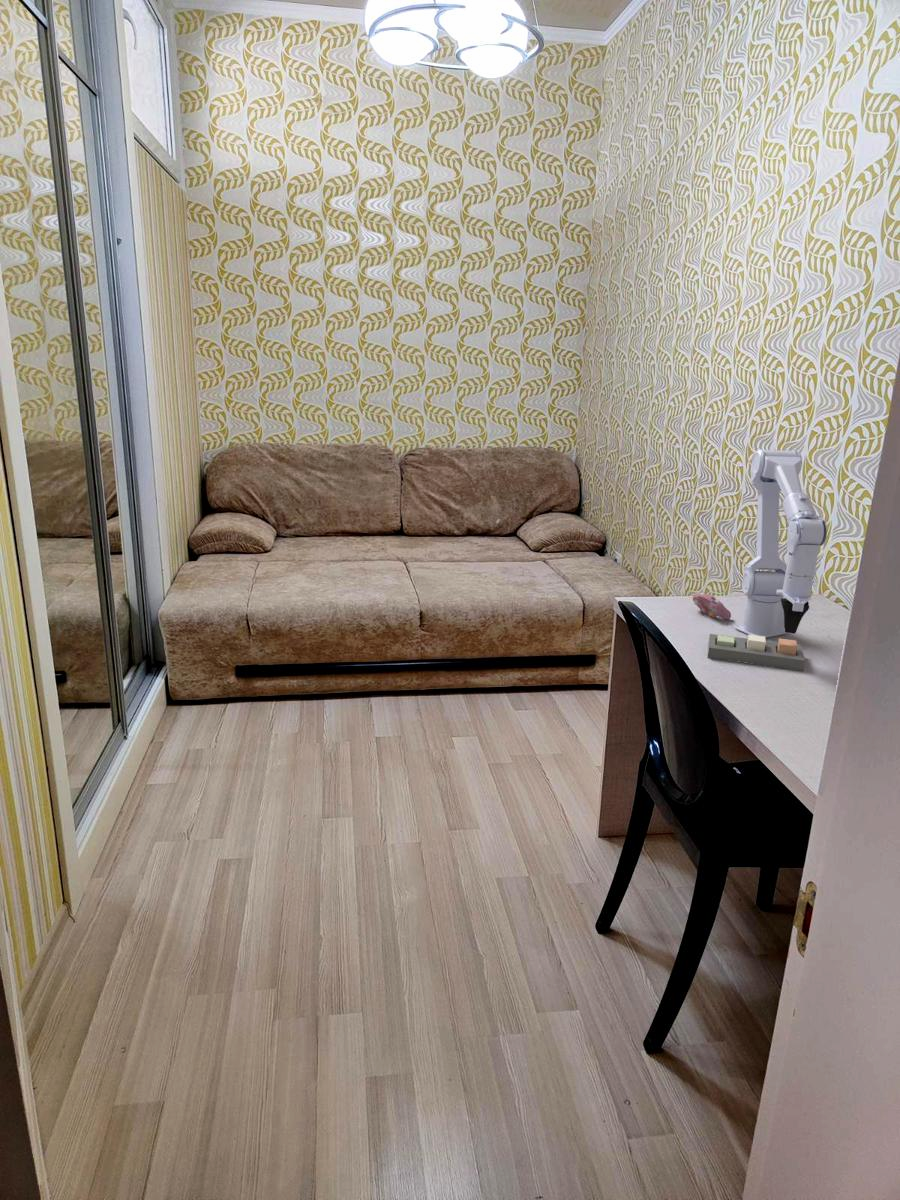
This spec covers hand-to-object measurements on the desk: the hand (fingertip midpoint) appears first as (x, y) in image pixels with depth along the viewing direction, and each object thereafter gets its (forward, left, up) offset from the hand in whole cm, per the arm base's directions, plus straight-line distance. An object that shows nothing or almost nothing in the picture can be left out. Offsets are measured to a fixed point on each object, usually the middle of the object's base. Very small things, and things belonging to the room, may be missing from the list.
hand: (789, 632), depth 176 cm
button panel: (+5, -5, -7) cm, 10 cm away
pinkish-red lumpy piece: (-6, -30, -7) cm, 31 cm away
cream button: (+5, -5, -5) cm, 9 cm away
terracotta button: (0, 0, -6) cm, 6 cm away
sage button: (+9, -9, -7) cm, 15 cm away
